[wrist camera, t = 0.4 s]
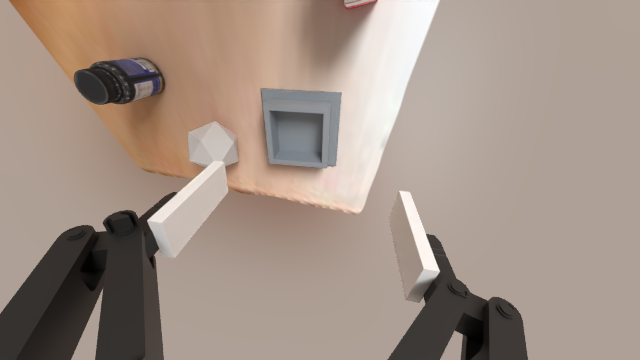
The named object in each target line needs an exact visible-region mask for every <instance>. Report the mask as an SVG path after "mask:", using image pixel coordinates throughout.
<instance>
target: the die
mask: <svg viewBox="0 0 640 360" xmlns="http://www.w3.org/2000/svg"><path fill="white" fill-rule="evenodd" d="M188 146H189V161H191V162H193V163H195V164H197V165H200V166H202V167H204V168H207V167H208V166H209V165H210V164H211V163H212V162H213V161H214V160H215V161H221V162H224V163H225V167H226V166H229V165H231V164H233V163H236V162H238V161H239V159H238V145H237V135H236V134H234V133H233V132H231V131H230V130H228V129H227V128H225V127H224V126H222V125H221V124H219V123H218V122H216V121H214V122H211V123H209V124H206V125H204V126H202V127H199V128H197V129H194V130H192V131H189V132H188Z"/></svg>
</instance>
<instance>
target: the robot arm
mask: <svg viewBox="0 0 640 360" xmlns="http://www.w3.org/2000/svg"><path fill="white" fill-rule="evenodd" d="M227 193H228V186H227V178H226V170H225V163H224V162H221V161H215V160H214V161H213V162H212V163H211V164H210V165H209V166H208V167H207V168H206V169H204V170H203V171H202V172H201V173H200V174H199V175H198V176H197V177H195V178H194V179H193V180H192V181H191V182H190V183H189V184H188V185H187V186H185V187H184V188H183V189H182V190H181V191H180V192H179V193H177V192H173V193H171V194H169V195H167V196H165V197H164V198H162V199H161V200H160V201H159V203H157V204H155V205H154V207H152V208H151V209H149V210H148V211H147V212H146V213H145V214H144V215H142V216H141V217H140V218H139V219H138V217H137V215H136V213H135V212H134V211H129V210H125V211H119V212H116V213H114V214H112V215H110V216H108V217H107V218H106V219H105V220H104V221H103V225H104V226H105V228H106V230H107V231H104V232H96V231H95V230H94V228H93V227H92V226H89V225H81V226H77V227H74V228H72V229H69V230H67V231H65V232H64V233H62V234H61V235H60V236H59V237H58V238H57V240H56V241H55V242H54V244H53V245H52V246H51V247H50V249H49V250H48V251H47V253H46V254H45V255H44V257H43V258H42V260H41V261H40V262H39V263H38V265H37V266H36V267H35V269H34V270H33V271H32V273H31V274H30V275H29V277H28V278H27V279H26V281H25V282H24V283H23V285H22V286H21V287H20V289H19V290H18V291H17V293H16V294H15V295H14V296H13V298H12V299H11V300H10V302H9V303H8V304H7V306H6V307H5V308H4V310H3V311H2V312H1V314H0V360H71V358H72V356H73V354H74V351H75V349H76V347H77V345H78V342H79V340H80V338H81V336H82V333H83V331H84V329H85V327H86V325H87V322H88V320H89V318H90V315H91V313H92V311H93V309H94V307H95V304H96V302H97V300H98V298H99V295H100V293H101V291H102V289H103V295H102V304H101V313H100V322H99V331H98V339H97V348H96V357H95V360H164V356H163V344H162V332H161V320H160V309H159V308H160V307H159V296H158V283H157V273H156V260H155V256H154V254H155V253H156V252H157V251H158V250H159V251H160V253H161V256H164V257H169V258H175V257H176V256H177V255H178V253H179V252H180V251H181V250H182V249H183V247H184V246H185V245H186V244H187V242H188V241H189V239H191V237H192V236H193V235H194V233H195V232H196V231H197V230H198V229H199V227H200V226H201V225H202V224H203V222H204V221H205V220H206V219H207V217H208V216H209V215H210V214H211V213H212V211H213V210H214V209H215V207H216V206H217V205H218V204H219V203H220V201H221V200H222V199H223V198H224V196H225V195H226V194H227ZM389 223H390V227H391V232H392V237H393V242H394V247H395V252H396V256H397V261H398V266H399V271H400V276H401V281H402V286H403V291H404V295H405V300H408V301H414V302H420V301H421V299H422V298H423V296H424V300H425V303H426V304H425V306H424V307H423V309H422V310H421V312H420V313H419V315H418V316H417V318H416V319H415V320H414V322H413V324H412V325H411V326H410V328H409V329H408V331H407V332H406V334H405V335H404V336H403V338H402V339H401V341H400V342H399V344H398V345H397V347H396V348H395V350H394V351H393V353H392V354H391V356H390V357H389V359H388V360H440V358H441V356H442V354H443V352H444V350H445V348H446V346H447V344H448V342H449V340H450V338H451V336H452V334H453V332H454V330H455V331H457V332H459V333H461V334H463V341H462V352H461V360H528V357H527V350H526V342H525V335H524V329H523V328H524V327H523V320H522V317H521V315H520V313H519V312H518V310H517V309H516V308H515V307H514V306H513V305H512V304H511V303H509V302H508V301H506V300H504V299H502V298H499V297H493V298H491V299H490V300H489V301H487V300H485V299H482V298H480V297H478V296H476V295H474V294H472V293H470V291H469V290H468V288H467V287H466V285H464V284H463V283H462V282H461V281H459V280H458V279H456V277H455V274H454V272H453V270H452V267H451V265H450V263H449V260H448V258H447V257H446V254H445V251H444V249H443V247H442V244H441V242H440V241H439V240H438V239H437V238H436V237H435V236H434V235H429V234H425V231H424V228H423V226H422V223H421V221H420V218H419V215H418V213H417V210H416V207H415V205H414V202H413V199H412V197H411V194H410V192H406V191H400V190H399V192H398V195H397V198H396V201H395V203H394V206H393V208H392V211H391V214H390V216H389Z"/></svg>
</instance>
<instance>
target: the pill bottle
mask: <svg viewBox="0 0 640 360" xmlns="http://www.w3.org/2000/svg"><path fill="white" fill-rule="evenodd" d="M74 82H75V85H76V87H77V89H78V91H79V92H80V93H81V94H82V95H83V96H84V97H85V98H86V99H87V100H89V101H90V102H93V103H95V104H98V105H103V104H107V103H114V104H126V103H129V102H132V101H135V100H139V99H142V98H145V97H149V96H152V95H155V94H159V93H160V92H161V91H162V90H163V88H164V78H163V76H162V73H161V72H160V70H159V69H158V67H157V66H156V65H155V64H154V63H152V62H151V61H149V60H148V59H144V58H131V59H121V60H111V61H102V62H97V63H94V64H92V66H91V67H90V69H82V70H78V71H77V72H76V73H75V75H74Z"/></svg>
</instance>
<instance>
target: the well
mask: <svg viewBox="0 0 640 360" xmlns="http://www.w3.org/2000/svg"><path fill="white" fill-rule="evenodd" d="M261 94H262V103H263V113H264V122H265V131H266V141H267V150H268V160H269V164H281V165H293V166H305V167H317V168H327V165H332V166H336V157H337V144H338V130H339V117H340V103H341V93H339V92H320V91H302V90H283V89H264V88H262V89H261Z"/></svg>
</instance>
